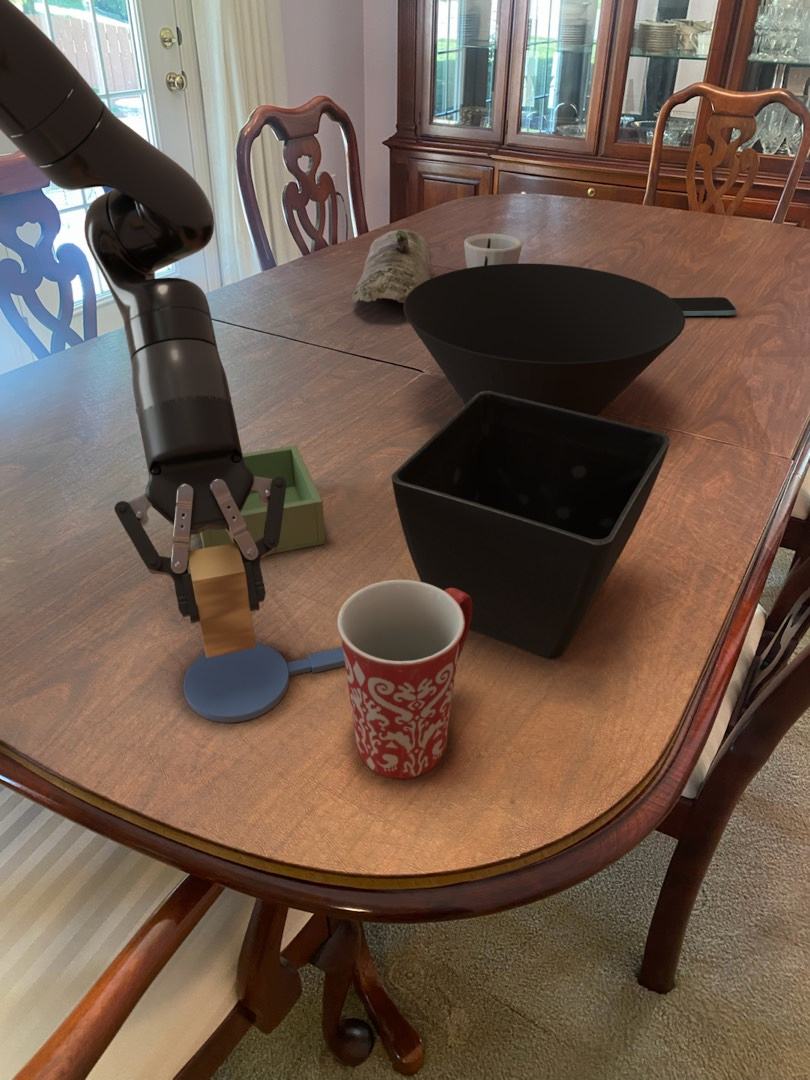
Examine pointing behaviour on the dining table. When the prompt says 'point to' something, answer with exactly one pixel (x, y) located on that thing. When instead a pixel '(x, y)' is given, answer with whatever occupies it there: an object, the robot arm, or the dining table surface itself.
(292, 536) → the green storage bin
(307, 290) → the dining table surface
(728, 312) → the smartphone
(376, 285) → the log
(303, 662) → the blue ping pong paddle
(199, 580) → the wooden block
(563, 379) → the bowl
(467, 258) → the mug
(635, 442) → the flower pot
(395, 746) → the mug
